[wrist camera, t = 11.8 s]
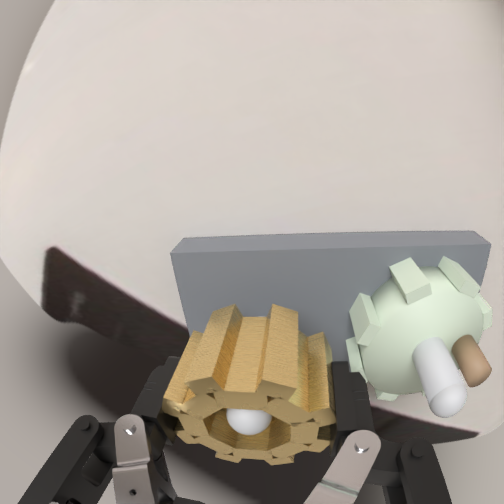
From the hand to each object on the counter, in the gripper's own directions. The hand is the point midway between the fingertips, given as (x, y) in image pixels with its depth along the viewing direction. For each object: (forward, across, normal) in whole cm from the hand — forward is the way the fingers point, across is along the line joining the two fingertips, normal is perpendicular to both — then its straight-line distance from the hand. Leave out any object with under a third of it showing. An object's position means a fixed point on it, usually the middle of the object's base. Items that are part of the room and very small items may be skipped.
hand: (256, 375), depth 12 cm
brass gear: (+1, 0, 0) cm, 1 cm away
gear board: (+5, -4, 0) cm, 7 cm away
